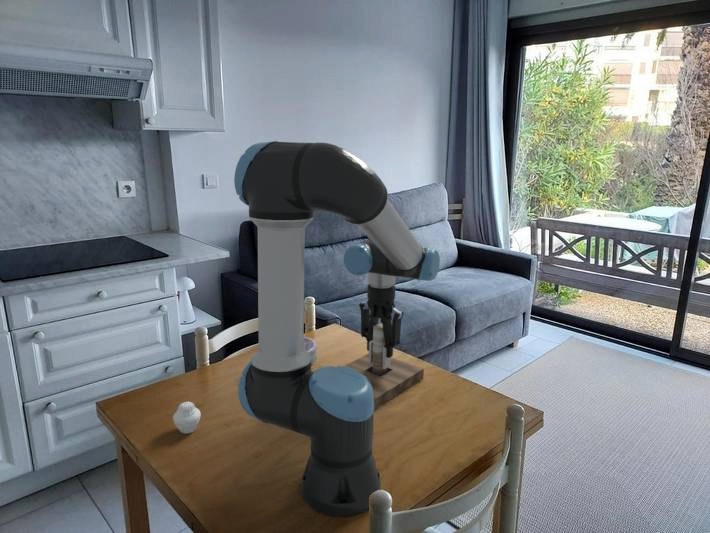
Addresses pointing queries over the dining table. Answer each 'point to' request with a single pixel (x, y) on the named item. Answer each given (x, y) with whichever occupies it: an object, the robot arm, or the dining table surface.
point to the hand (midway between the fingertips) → (379, 364)
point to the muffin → (187, 417)
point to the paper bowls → (311, 349)
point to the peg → (378, 350)
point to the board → (388, 378)
